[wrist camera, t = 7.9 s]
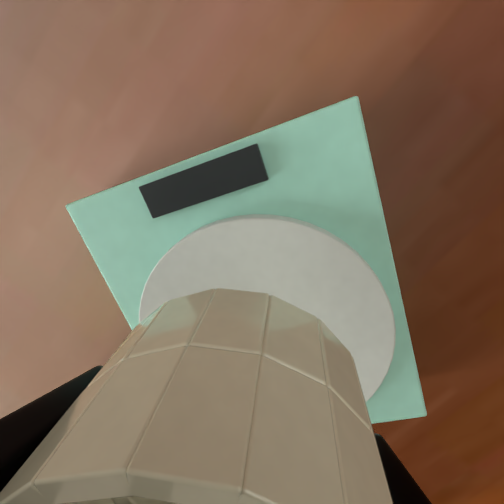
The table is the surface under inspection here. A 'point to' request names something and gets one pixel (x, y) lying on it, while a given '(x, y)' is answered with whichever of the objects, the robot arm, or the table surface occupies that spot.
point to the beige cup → (214, 415)
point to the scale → (269, 241)
